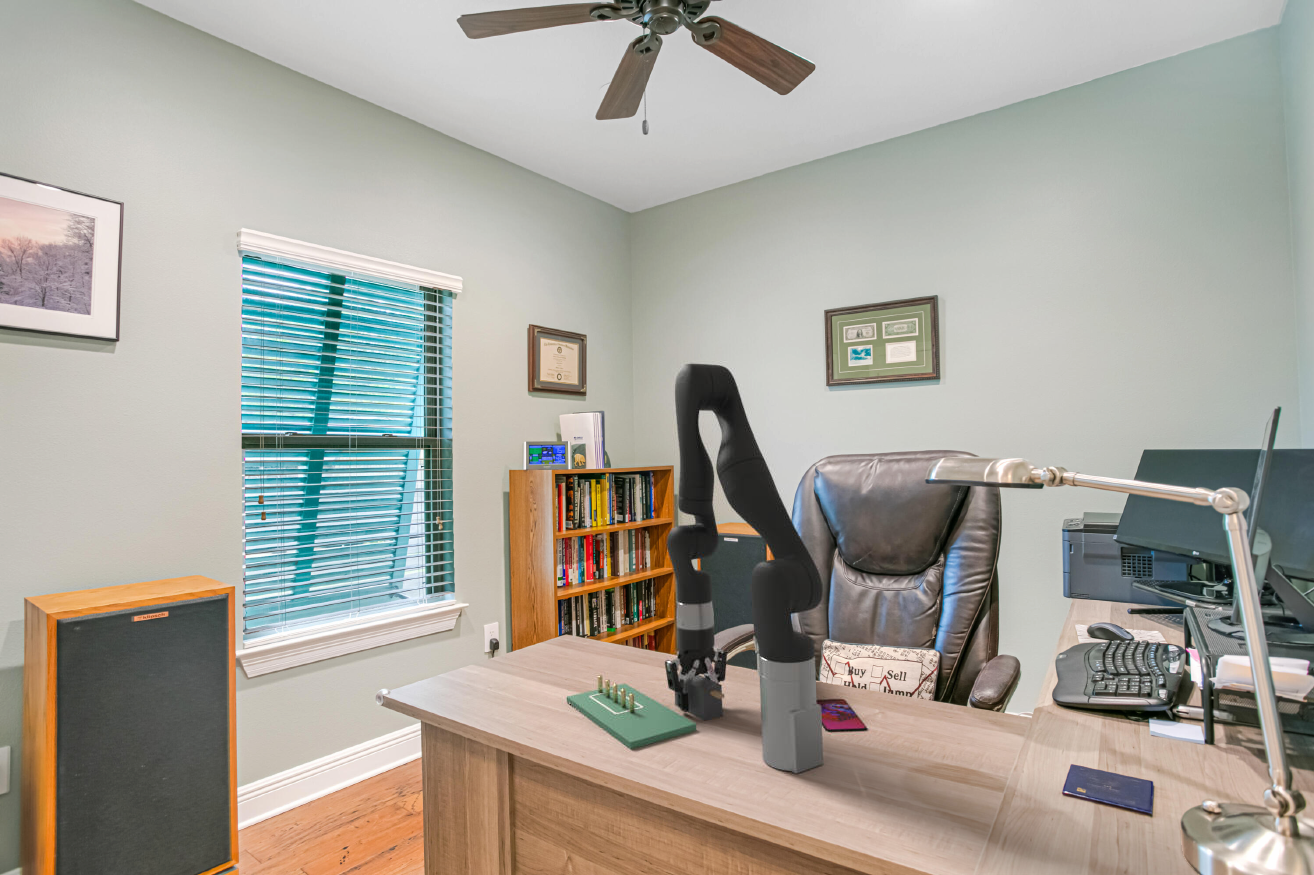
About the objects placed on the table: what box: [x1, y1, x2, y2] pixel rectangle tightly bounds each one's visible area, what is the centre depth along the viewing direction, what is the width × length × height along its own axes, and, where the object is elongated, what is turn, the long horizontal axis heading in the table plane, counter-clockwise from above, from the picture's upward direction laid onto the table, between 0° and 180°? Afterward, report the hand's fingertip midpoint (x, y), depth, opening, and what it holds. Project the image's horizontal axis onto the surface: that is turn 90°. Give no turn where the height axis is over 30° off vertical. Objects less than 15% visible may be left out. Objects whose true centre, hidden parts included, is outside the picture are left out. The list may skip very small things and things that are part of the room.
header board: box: [566, 683, 697, 750], centre depth 132 cm, size 28×14×1 cm, turn 31°
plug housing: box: [674, 673, 725, 722], centre depth 133 cm, size 13×4×6 cm, turn 31°
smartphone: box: [816, 698, 867, 733], centre depth 129 cm, size 8×1×15 cm
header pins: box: [597, 674, 635, 713], centre depth 137 cm, size 15×1×4 cm, turn 31°
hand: (698, 706), depth 134 cm, fingers open, 6 cm apart
